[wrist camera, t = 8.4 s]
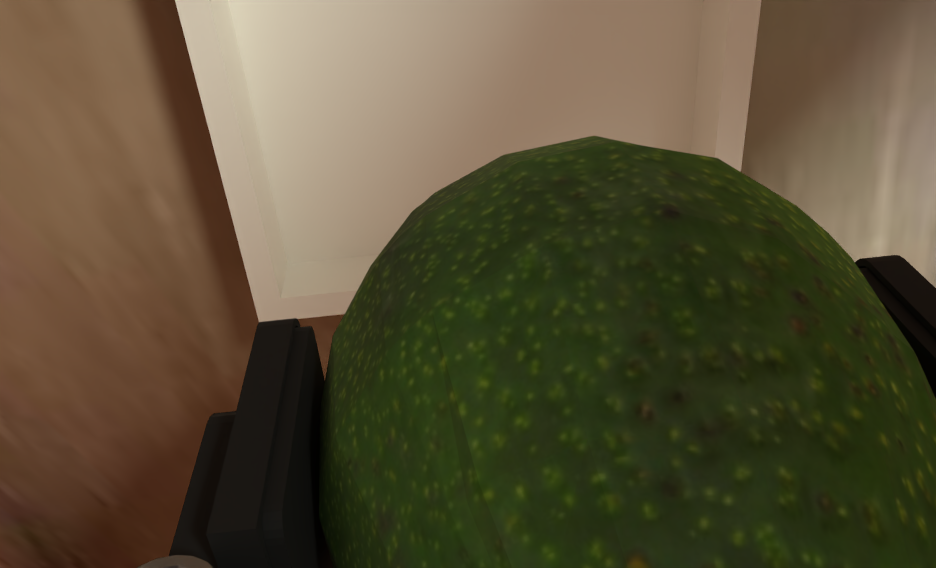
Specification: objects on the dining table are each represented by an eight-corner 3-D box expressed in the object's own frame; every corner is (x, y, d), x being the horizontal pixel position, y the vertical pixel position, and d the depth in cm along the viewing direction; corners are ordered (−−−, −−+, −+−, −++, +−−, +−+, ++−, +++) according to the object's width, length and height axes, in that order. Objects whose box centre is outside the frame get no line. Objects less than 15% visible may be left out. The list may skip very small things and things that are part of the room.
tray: (748, -296, 24) (798, -307, 21) (698, 230, 34) (728, 273, 31) (145, -244, 23) (110, -249, 21) (271, 274, 33) (259, 323, 30)
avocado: (708, 406, 18) (1130, 1246, 8) (350, 421, 17) (290, 1356, 7) (791, 42, 13) (2014, 857, 3) (317, 47, 13) (43, 1056, 3)
